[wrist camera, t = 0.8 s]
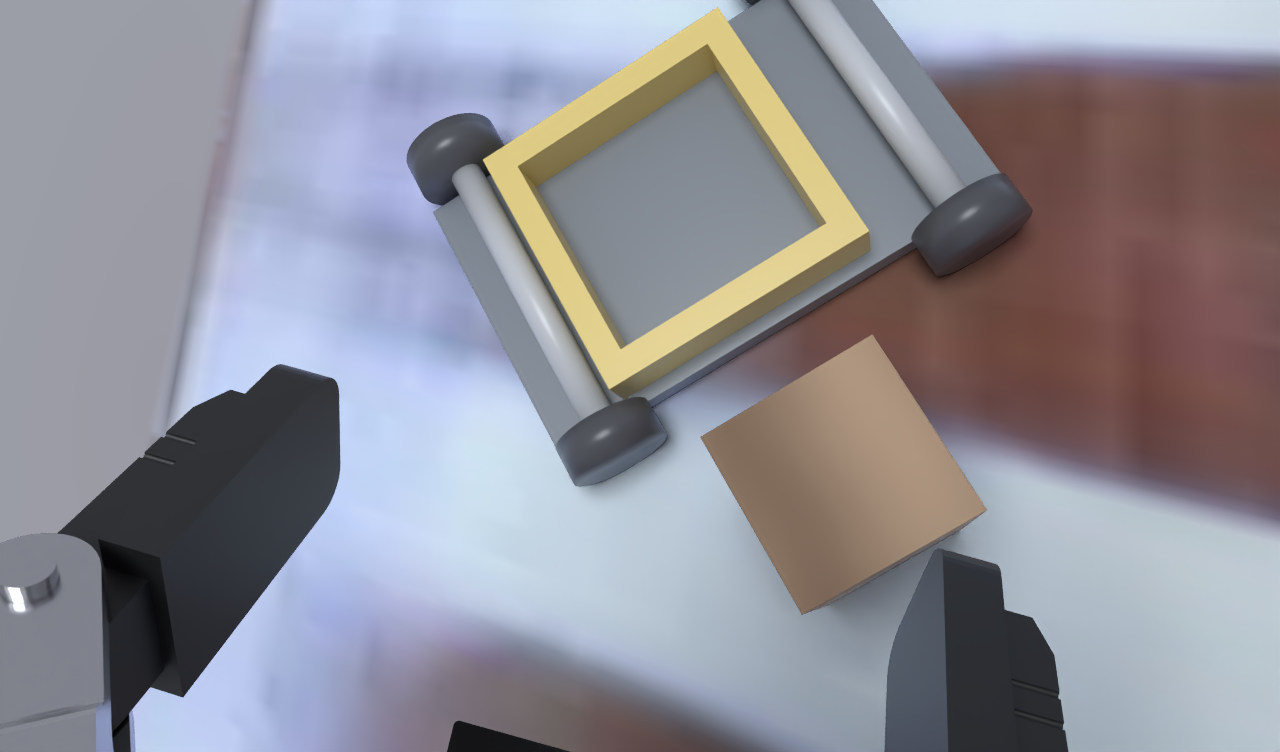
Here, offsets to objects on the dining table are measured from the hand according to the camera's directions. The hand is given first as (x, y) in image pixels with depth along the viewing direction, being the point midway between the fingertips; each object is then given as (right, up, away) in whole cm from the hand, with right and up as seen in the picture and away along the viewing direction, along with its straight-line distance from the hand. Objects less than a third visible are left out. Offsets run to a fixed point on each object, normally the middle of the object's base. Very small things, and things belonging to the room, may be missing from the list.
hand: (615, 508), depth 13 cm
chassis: (+3, +8, +24) cm, 26 cm away
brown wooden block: (+8, -3, +21) cm, 22 cm away
